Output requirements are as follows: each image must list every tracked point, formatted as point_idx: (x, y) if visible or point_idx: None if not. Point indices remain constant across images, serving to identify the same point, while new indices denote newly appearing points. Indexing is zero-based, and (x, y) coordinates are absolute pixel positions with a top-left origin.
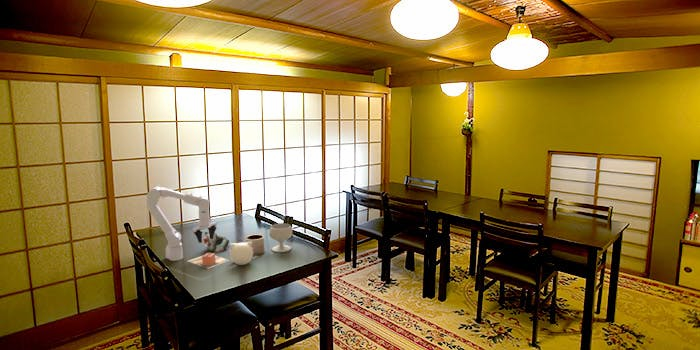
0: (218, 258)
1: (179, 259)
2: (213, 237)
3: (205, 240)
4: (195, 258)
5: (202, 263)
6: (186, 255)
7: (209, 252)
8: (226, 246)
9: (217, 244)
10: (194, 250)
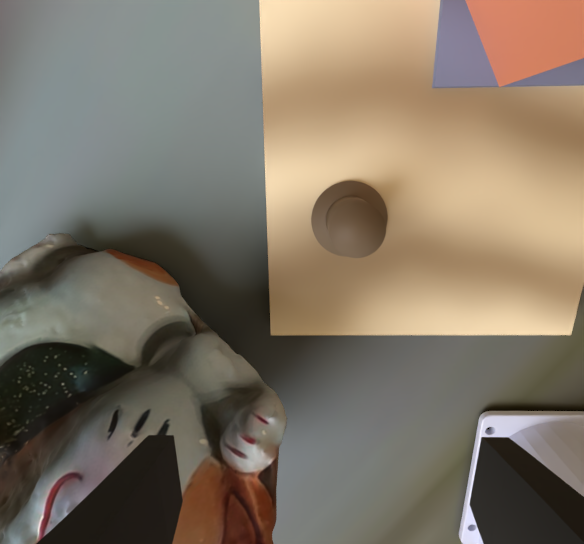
0: (310, 63)
1: (575, 433)
2: None
3: (247, 527)
4: (465, 326)
5: (579, 77)
6: (402, 491)
7: (341, 244)
8: (12, 283)
9: (105, 363)
10: (276, 530)
